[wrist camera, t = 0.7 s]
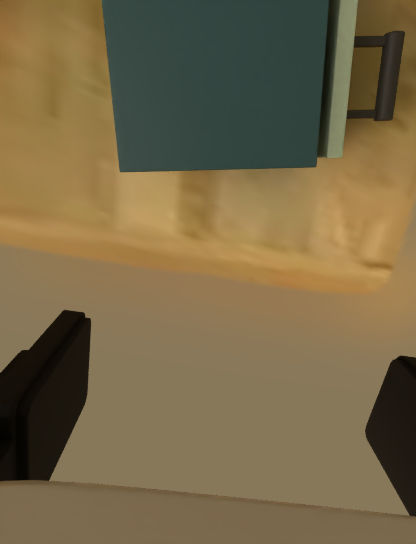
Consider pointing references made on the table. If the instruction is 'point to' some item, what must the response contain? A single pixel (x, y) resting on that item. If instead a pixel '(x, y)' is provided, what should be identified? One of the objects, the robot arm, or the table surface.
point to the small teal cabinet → (216, 82)
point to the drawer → (339, 73)
